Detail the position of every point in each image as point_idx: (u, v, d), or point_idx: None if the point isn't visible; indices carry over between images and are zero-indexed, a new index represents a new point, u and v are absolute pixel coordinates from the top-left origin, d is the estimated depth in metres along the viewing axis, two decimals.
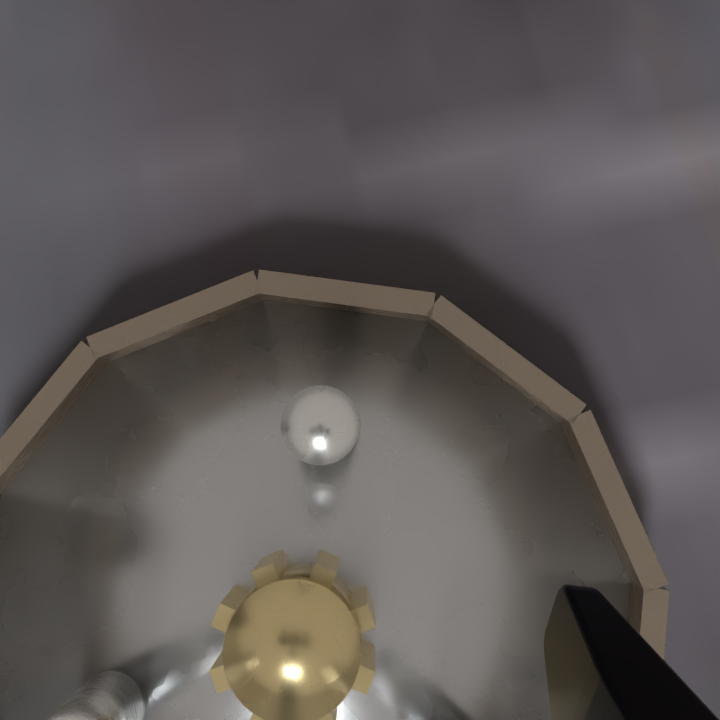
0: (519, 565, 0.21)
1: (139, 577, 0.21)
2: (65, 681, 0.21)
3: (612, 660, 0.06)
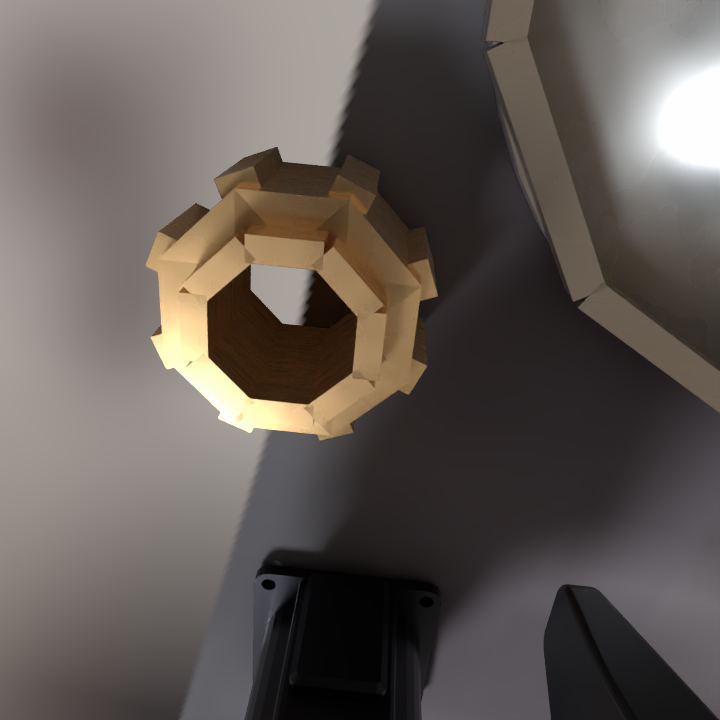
0: None
1: None
2: None
3: (612, 660, 0.06)
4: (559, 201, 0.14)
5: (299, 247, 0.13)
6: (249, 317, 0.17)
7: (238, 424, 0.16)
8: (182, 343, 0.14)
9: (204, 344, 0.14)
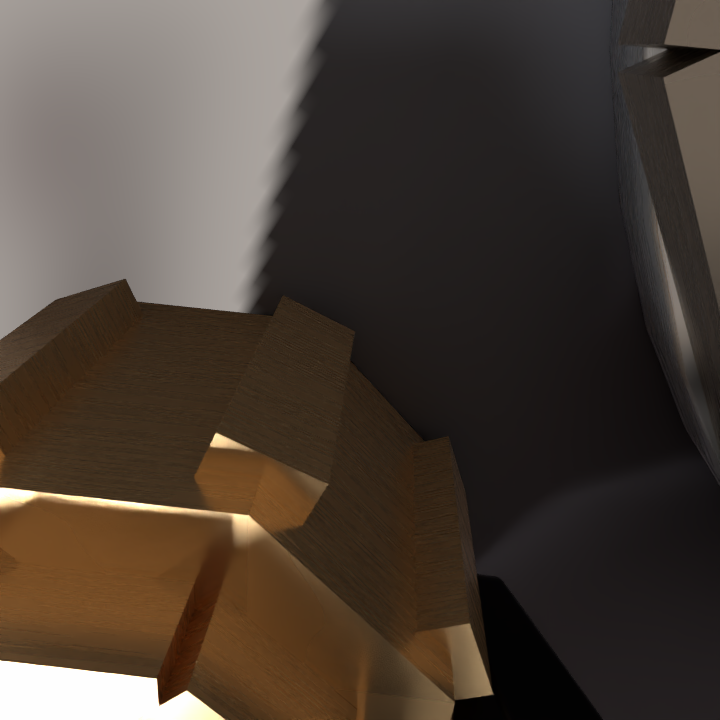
0: None
1: None
2: None
3: (497, 647, 0.06)
4: None
5: (82, 686, 0.04)
6: None
7: None
8: None
9: None
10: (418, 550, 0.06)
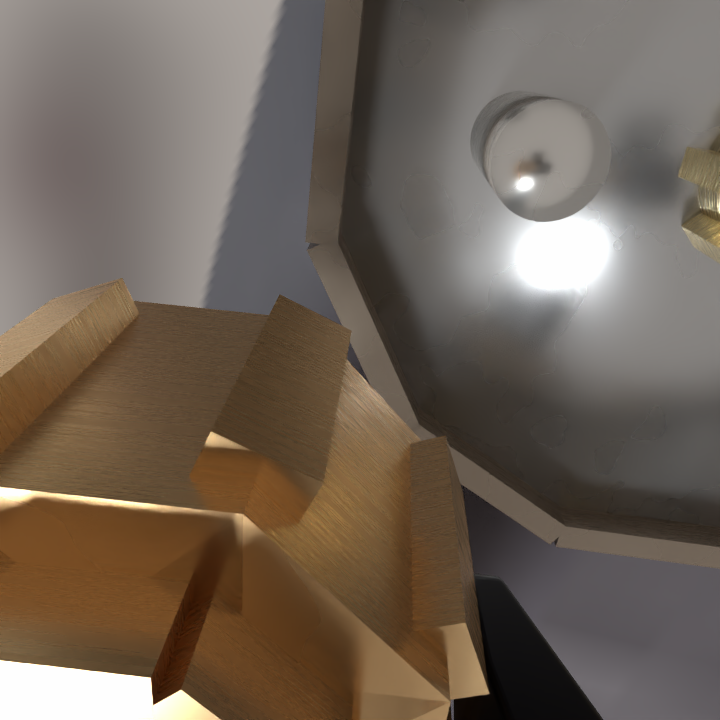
0: None
1: None
2: (478, 77, 0.15)
3: (497, 647, 0.06)
4: (375, 361, 0.17)
5: (77, 685, 0.04)
6: None
7: None
8: None
9: None
10: (414, 549, 0.06)
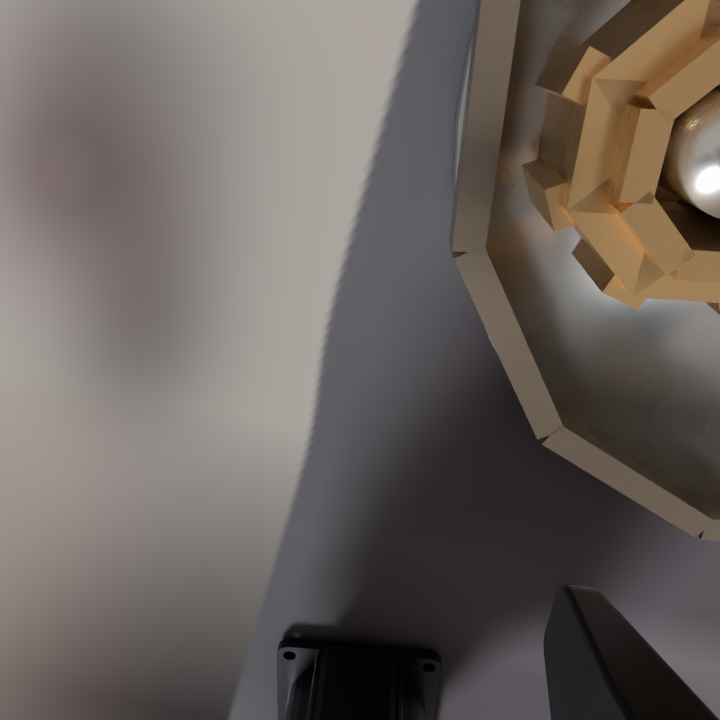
0: None
1: None
2: None
3: (612, 660, 0.06)
4: (520, 365, 0.17)
5: None
6: None
7: (637, 295, 0.13)
8: (627, 178, 0.11)
9: (655, 178, 0.11)
10: None
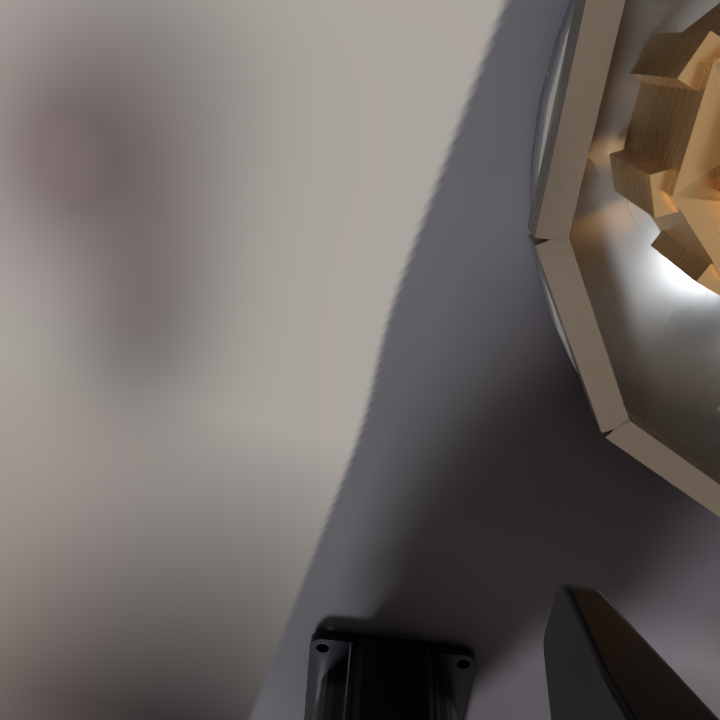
0: None
1: None
2: None
3: (612, 660, 0.06)
4: (592, 357, 0.17)
5: None
6: None
7: None
8: None
9: None
10: None
